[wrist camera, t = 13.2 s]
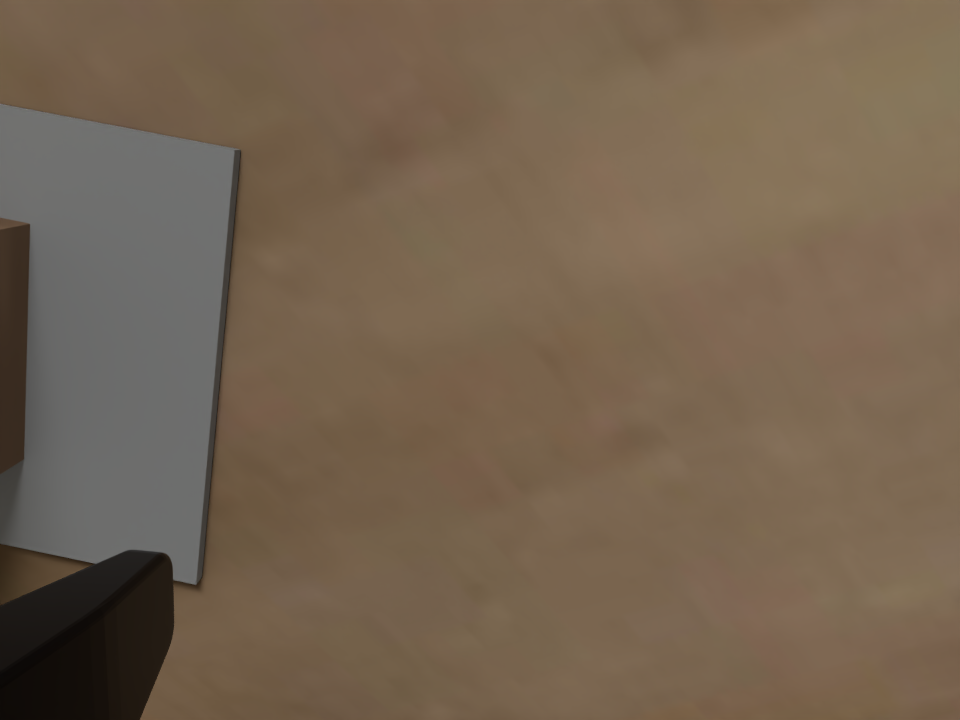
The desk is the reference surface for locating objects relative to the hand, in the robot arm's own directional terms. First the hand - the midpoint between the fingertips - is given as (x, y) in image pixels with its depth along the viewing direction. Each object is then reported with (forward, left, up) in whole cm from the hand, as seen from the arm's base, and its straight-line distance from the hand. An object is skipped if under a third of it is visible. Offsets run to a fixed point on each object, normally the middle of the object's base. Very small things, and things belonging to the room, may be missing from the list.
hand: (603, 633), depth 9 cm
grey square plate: (+9, +12, -13) cm, 20 cm away
